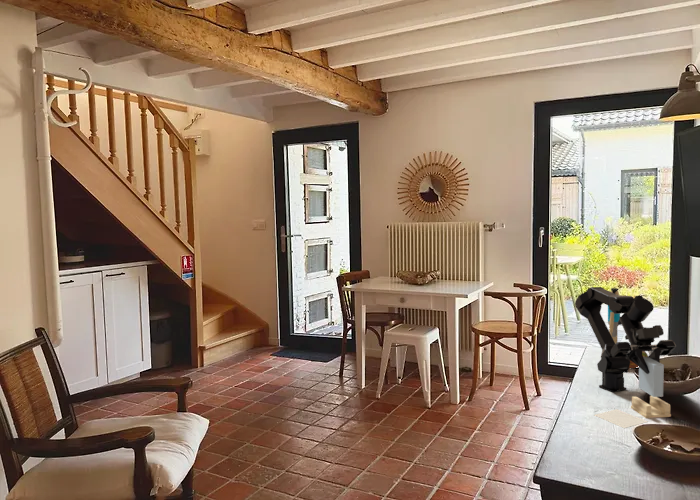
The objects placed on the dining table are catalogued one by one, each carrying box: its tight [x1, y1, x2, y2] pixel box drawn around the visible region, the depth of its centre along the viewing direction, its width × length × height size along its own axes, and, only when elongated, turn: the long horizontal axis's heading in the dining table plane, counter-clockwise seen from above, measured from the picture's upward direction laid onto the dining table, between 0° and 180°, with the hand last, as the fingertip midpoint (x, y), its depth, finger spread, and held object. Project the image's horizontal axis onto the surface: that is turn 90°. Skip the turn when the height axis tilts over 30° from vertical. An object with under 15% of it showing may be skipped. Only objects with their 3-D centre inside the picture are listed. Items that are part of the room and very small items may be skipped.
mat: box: [594, 408, 649, 429], centre depth 166 cm, size 11×10×1 cm
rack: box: [630, 395, 672, 419], centre depth 170 cm, size 8×8×4 cm
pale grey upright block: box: [638, 357, 665, 398], centre depth 169 cm, size 8×3×10 cm, turn 2°
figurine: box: [607, 287, 621, 344], centre depth 225 cm, size 16×6×30 cm, turn 145°
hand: (653, 373), depth 167 cm, fingers closed on pale grey upright block, 3 cm apart
